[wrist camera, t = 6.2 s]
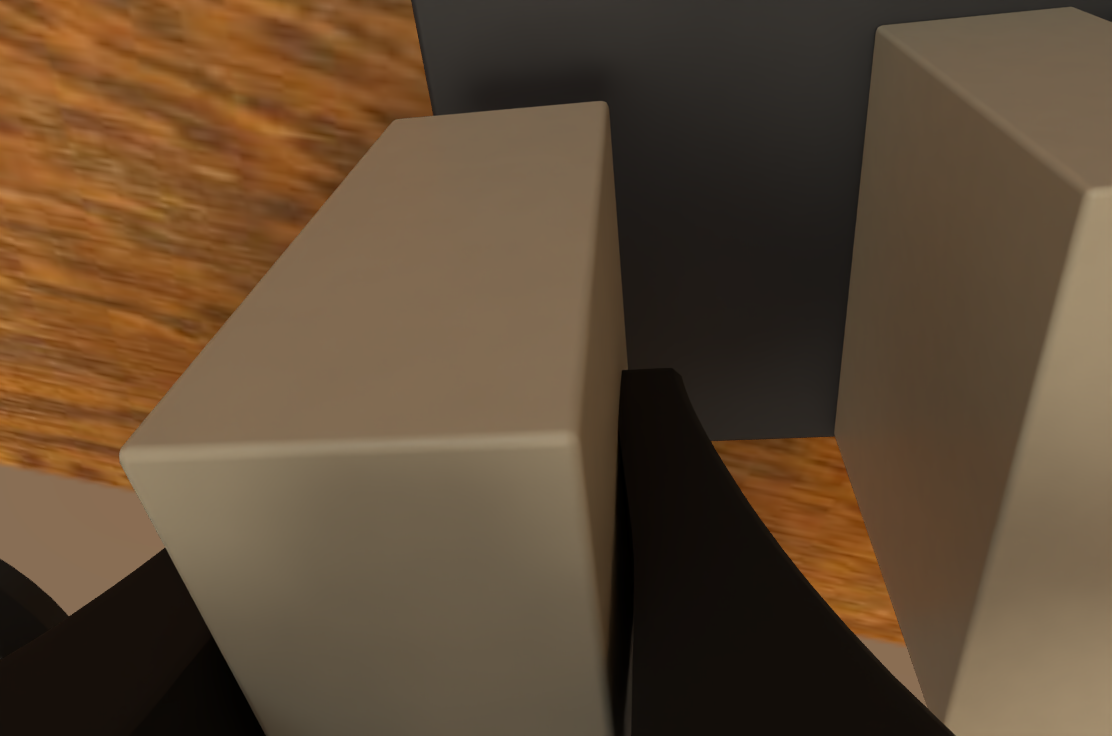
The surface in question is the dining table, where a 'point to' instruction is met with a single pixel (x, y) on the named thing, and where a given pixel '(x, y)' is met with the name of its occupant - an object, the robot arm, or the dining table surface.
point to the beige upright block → (989, 363)
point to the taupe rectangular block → (419, 446)
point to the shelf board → (710, 170)
